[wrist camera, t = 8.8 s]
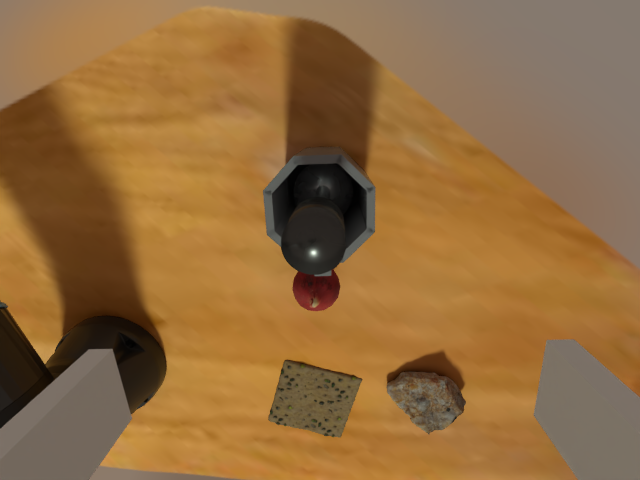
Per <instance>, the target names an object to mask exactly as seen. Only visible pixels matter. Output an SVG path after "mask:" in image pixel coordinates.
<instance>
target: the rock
mask: <svg viewBox="0 0 640 480" xmlns="http://www.w3.org/2000/svg"><path fill="white" fill-rule="evenodd" d="M387 392H388V394H389V395H390V396H391V398H392V399H393V401H394V402H395V403H396V404H397V405H398V406H399V408H400V409H402V410H404V412H405V413H406V414H408V415H409V416H410V417H411V418H410V419H411V421H412V422H413V423H414V424H415V425H416V426H418V427H420V428H421V429H422V430H424V431H425V432H427V433H428V434H429V433H430V432H433V431H434V430H443V429H445V428H446V427H447V426H448V425H450V424H451V423H453V422H454V420H455V419H456V418H457V416H459V415H461V414H462V413H463V411H464V405H465V403H466V401H465V400H464V399H463V397H462V394H461V392H460V391H459V388H458V386H457V385H456V384H455V382H454V381H453V380H451V379H450V378H448V377H446V376H439V375H437V374H436V373H434V372H433V373H426V372H402V373H400V374H399V376H398V377H397V378H396V379H395V380H393V381H391V382H389V383H387Z"/></svg>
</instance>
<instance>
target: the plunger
mask: <svg viewBox="0 0 640 480" xmlns="http://www.w3.org/2000/svg"><path fill="white" fill-rule="evenodd" d="M352 197H353V186H352V182H351V180H350V178H349V176H348V174H347V173H346V172H345V171H344V169H342V168H341V167H340V166H338V165H336V164H334V163H333V164H311V165H309V166H307V167H306V168H305V169H303V170H302V172H301V173H300V174H299V175H298V177H297V179H296V181H295V185H294V199H295V202H296V204H297V207H296V208H295V209H294V211H293V213H292V215H291V217H290V219H289V221H288V223H287V225H286V227H285V229H284V231H283V233H282V237H281V249H282V253H283V255H284V257H285V259H286V261H287V262H288V263H289V264H290V265H291V266H292V267H293V268H294V269H296V270H298V271H300V272H302V273H305V274H310V275H318V274H323V273H326V272H329V271H331V270H332V269H334V268H335V267H336V266H337V265H338V264H339V263H340V262H341V260H342V258H343V256H344V254H345V250H346V237H345V226H344V218H343V214H344V213H345V212H346V210H347V209H348V208H349V206H350V204H351V201H352Z"/></svg>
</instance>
